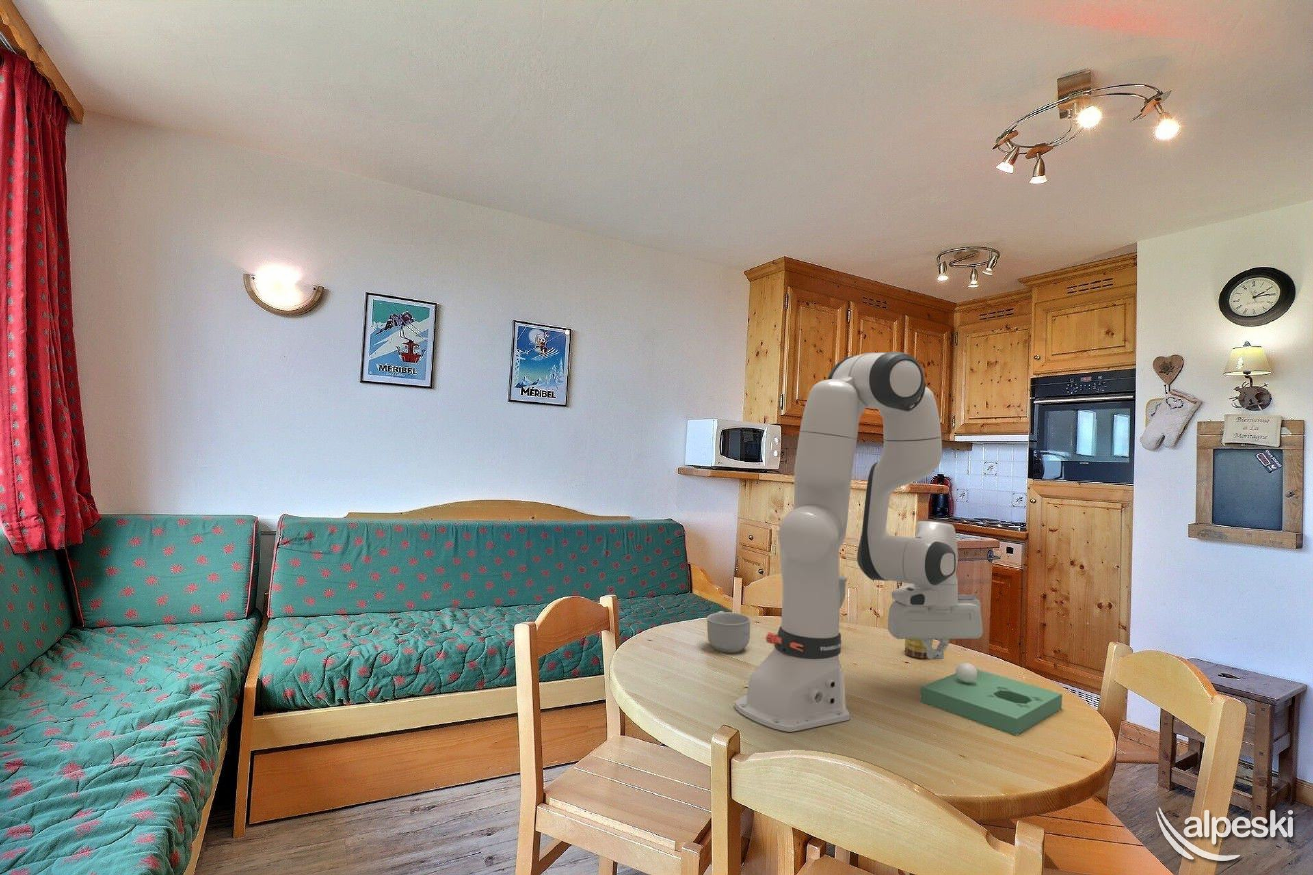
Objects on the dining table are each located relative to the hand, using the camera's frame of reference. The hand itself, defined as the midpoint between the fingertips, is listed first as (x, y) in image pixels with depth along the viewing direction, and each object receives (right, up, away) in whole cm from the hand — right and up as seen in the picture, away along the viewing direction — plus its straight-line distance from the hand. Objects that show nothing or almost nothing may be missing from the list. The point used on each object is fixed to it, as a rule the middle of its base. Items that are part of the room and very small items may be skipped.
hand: (935, 658), depth 134 cm
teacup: (-43, -5, +21) cm, 48 cm away
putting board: (+7, -6, -10) cm, 13 cm away
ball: (+4, -1, -6) cm, 7 cm away
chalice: (-16, -6, +25) cm, 30 cm away
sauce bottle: (+5, -7, +21) cm, 23 cm away
